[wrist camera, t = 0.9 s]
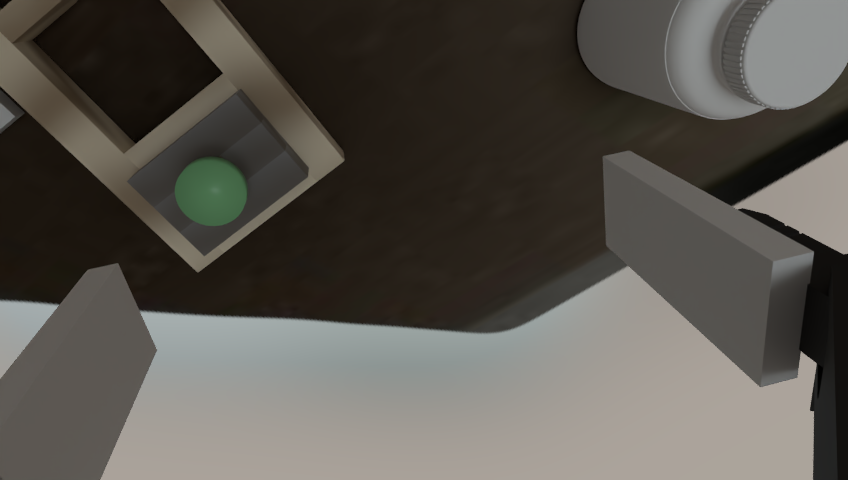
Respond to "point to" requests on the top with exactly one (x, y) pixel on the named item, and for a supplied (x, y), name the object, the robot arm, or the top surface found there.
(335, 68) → the top surface
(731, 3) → the pill bottle
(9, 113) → the white rectangular frame
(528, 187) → the top surface
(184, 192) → the button
